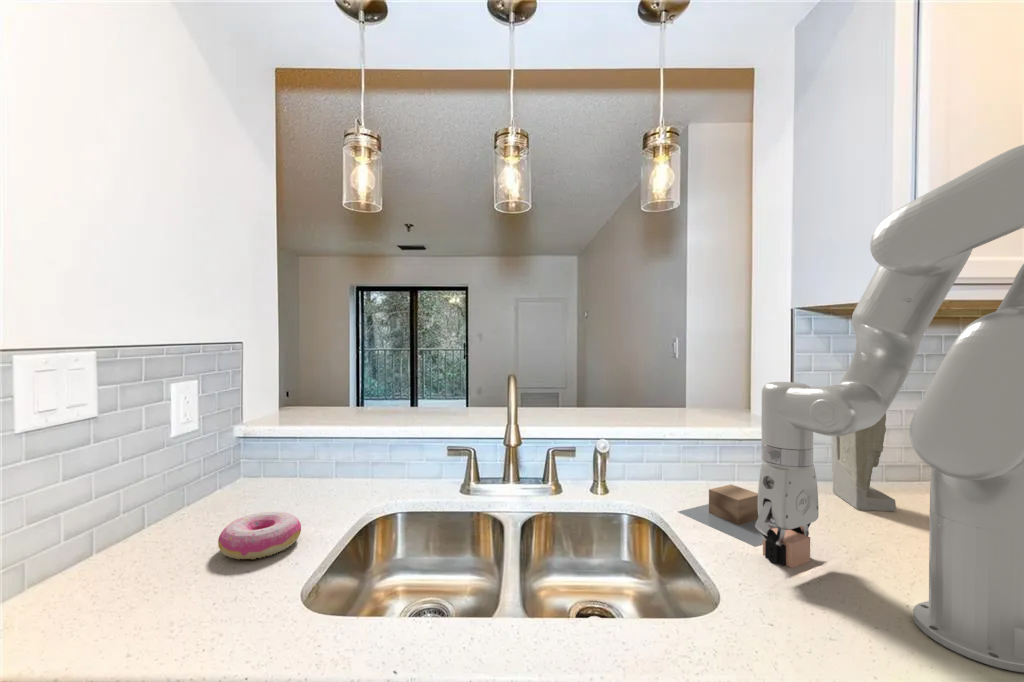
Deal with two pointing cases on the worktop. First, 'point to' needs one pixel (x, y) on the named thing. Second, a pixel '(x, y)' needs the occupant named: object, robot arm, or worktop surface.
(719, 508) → the walnut base
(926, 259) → the robot arm
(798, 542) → the terracotta cube
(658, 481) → the worktop surface
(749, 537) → the slate board
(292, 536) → the donut
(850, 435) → the sculpture
